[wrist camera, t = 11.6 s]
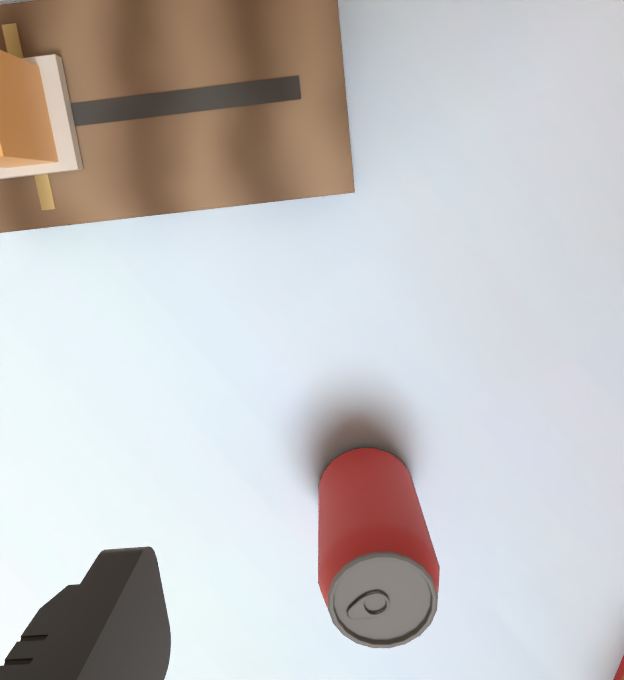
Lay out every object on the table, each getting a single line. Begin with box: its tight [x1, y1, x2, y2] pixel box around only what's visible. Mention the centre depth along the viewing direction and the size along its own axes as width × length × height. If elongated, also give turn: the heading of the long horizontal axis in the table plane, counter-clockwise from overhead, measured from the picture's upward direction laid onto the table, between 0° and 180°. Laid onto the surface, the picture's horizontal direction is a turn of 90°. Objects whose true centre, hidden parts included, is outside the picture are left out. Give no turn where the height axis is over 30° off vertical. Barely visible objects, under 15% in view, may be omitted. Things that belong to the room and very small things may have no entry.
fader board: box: [0, 0, 355, 233], centre depth 35 cm, size 22×12×2 cm, turn 96°
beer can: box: [318, 448, 439, 648], centre depth 36 cm, size 7×7×12 cm
